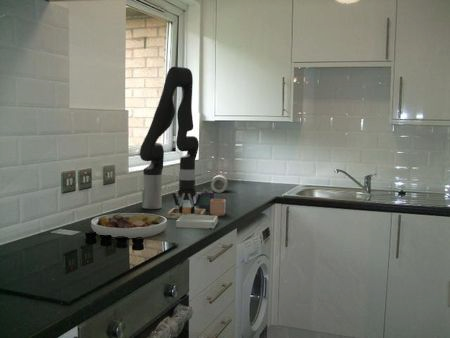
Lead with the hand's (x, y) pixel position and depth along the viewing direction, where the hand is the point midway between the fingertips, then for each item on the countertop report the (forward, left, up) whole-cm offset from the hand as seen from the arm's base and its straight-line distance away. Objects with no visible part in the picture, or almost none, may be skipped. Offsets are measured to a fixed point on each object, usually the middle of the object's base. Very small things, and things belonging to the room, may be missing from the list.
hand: (186, 214), depth 233 cm
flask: (+6, +17, -1) cm, 18 cm away
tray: (+8, -18, -1) cm, 20 cm away
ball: (0, 0, +2) cm, 2 cm away
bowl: (-17, -36, -1) cm, 40 cm away
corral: (0, 0, -1) cm, 1 cm away
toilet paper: (+6, +81, -1) cm, 81 cm away
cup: (+14, +6, -1) cm, 15 cm away
